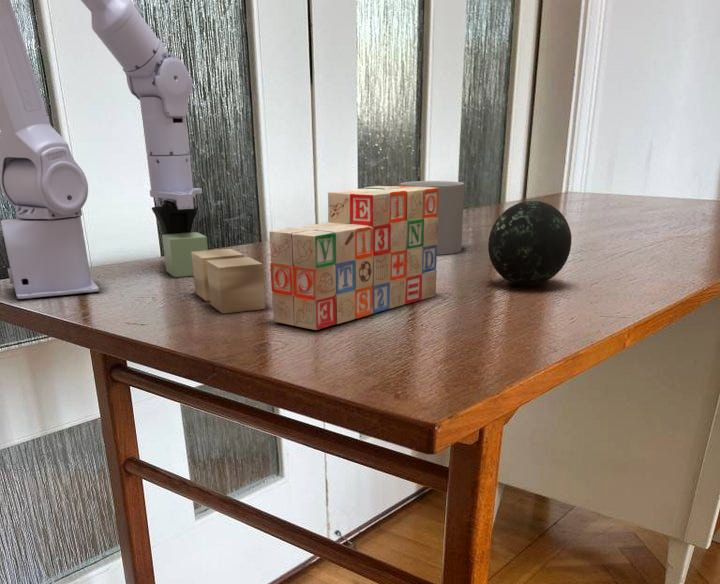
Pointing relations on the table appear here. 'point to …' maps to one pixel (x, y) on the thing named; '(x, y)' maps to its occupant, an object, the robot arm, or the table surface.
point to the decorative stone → (529, 243)
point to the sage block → (182, 252)
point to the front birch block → (236, 284)
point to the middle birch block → (201, 268)
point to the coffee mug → (447, 213)
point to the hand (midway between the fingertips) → (179, 258)
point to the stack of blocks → (357, 257)
